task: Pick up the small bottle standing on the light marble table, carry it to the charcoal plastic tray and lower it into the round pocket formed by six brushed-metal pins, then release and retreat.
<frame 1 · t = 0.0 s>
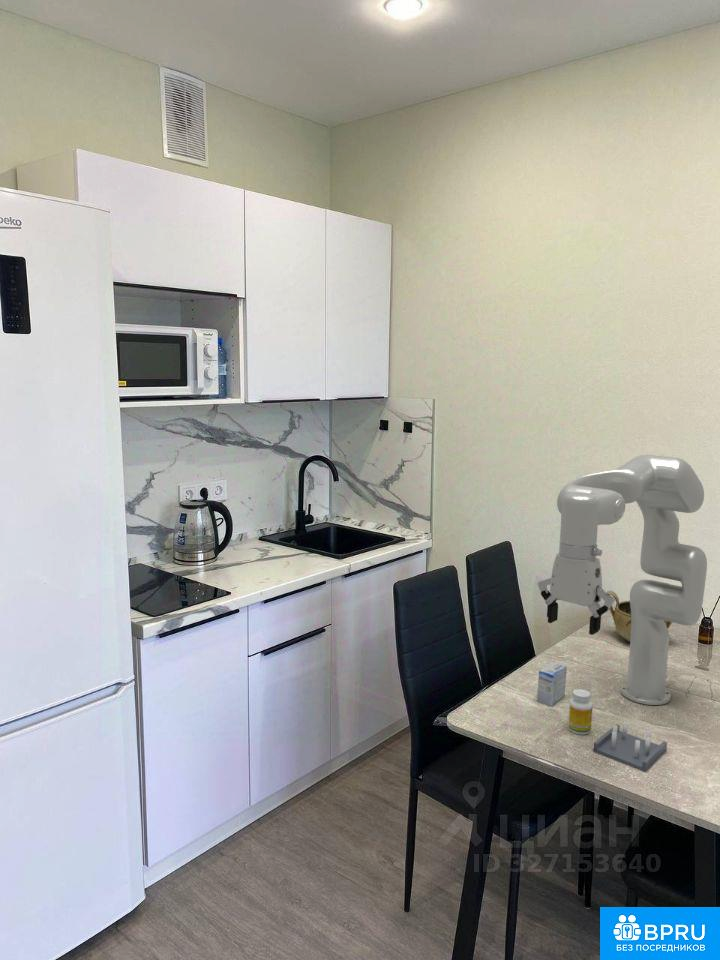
hand: (572, 627, 156), 31 cm above the table, fingers open, 9 cm apart
medicine box: (550, 699, 191), on the table
tray: (629, 751, 165), on the table
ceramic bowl: (638, 641, 232), on the table
supplement bottle: (579, 730, 175), on the table
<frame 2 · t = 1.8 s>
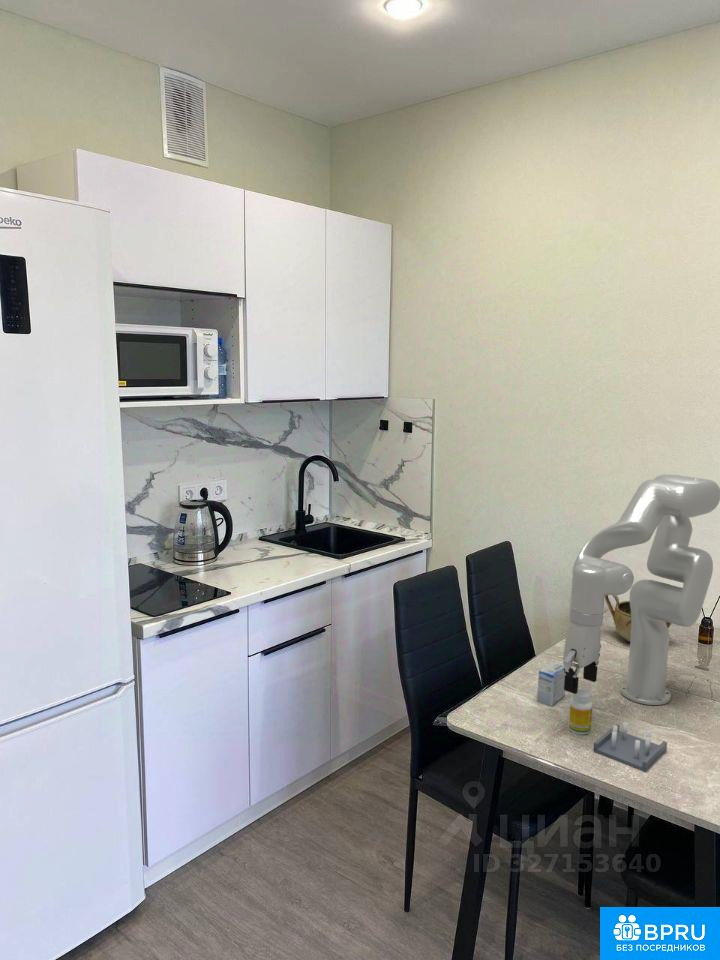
hand: (580, 685, 172), 12 cm above the table, fingers open, 9 cm apart
nothing on the table moved.
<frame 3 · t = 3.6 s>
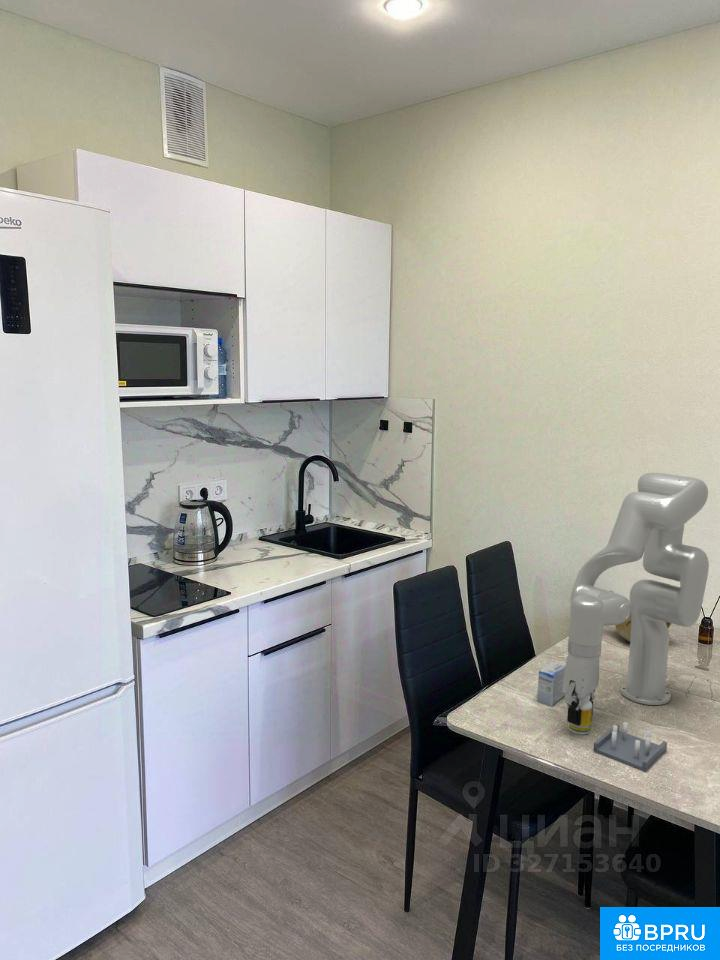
hand: (579, 718, 174), 3 cm above the table, fingers closed on supplement bottle, 5 cm apart
supplement bottle: (579, 730, 175), on the table, touching gripper
everything else where it was.
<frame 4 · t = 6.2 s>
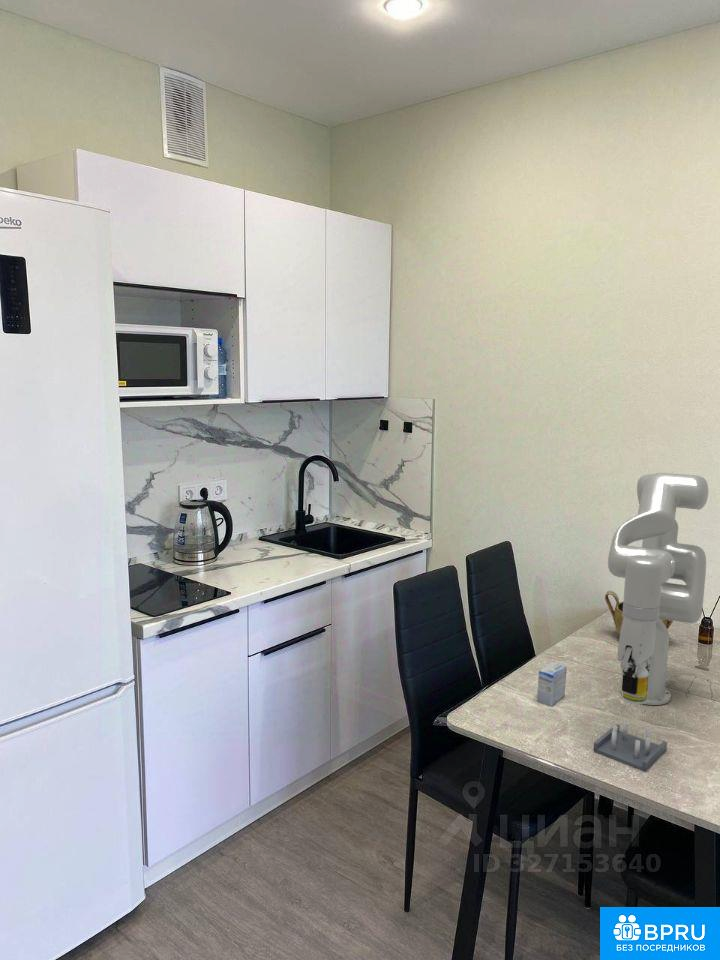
hand: (634, 687, 163), 16 cm above the table, fingers closed on supplement bottle, 5 cm apart
supplement bottle: (633, 700, 163), point 12 cm above the table, touching gripper
everything else where it was.
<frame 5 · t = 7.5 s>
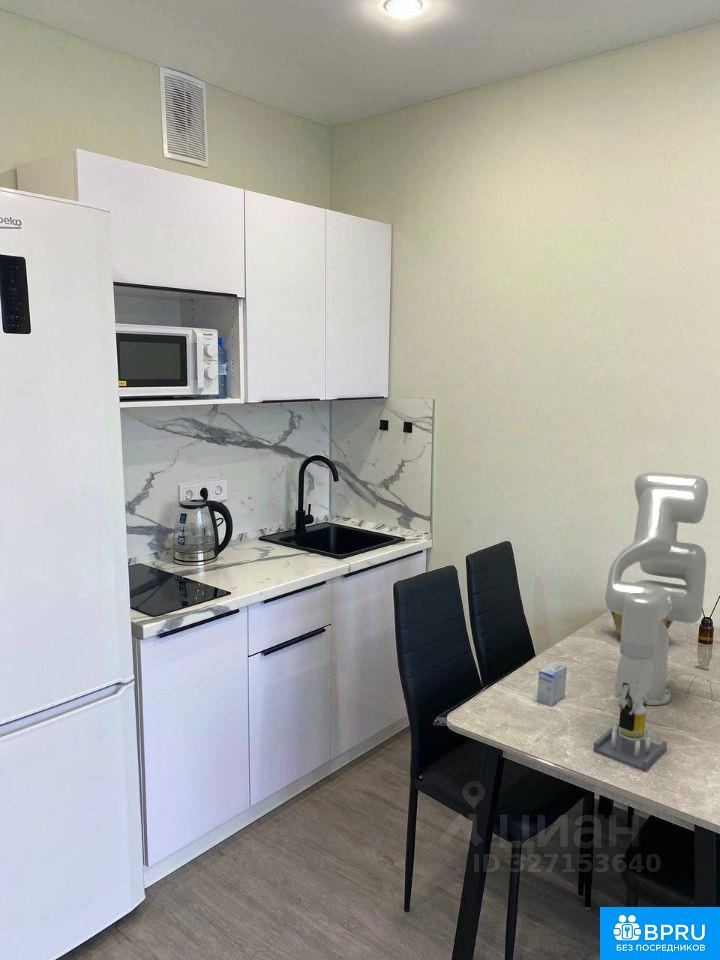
hand: (632, 723, 164), 7 cm above the table, fingers closed on supplement bottle, 5 cm apart
supplement bottle: (630, 736, 164), point 4 cm above the table, touching gripper
everything else where it was.
when the fingers open (5 cm above the table, at t = 8.8 s): supplement bottle drops 1 cm, resting on tray.
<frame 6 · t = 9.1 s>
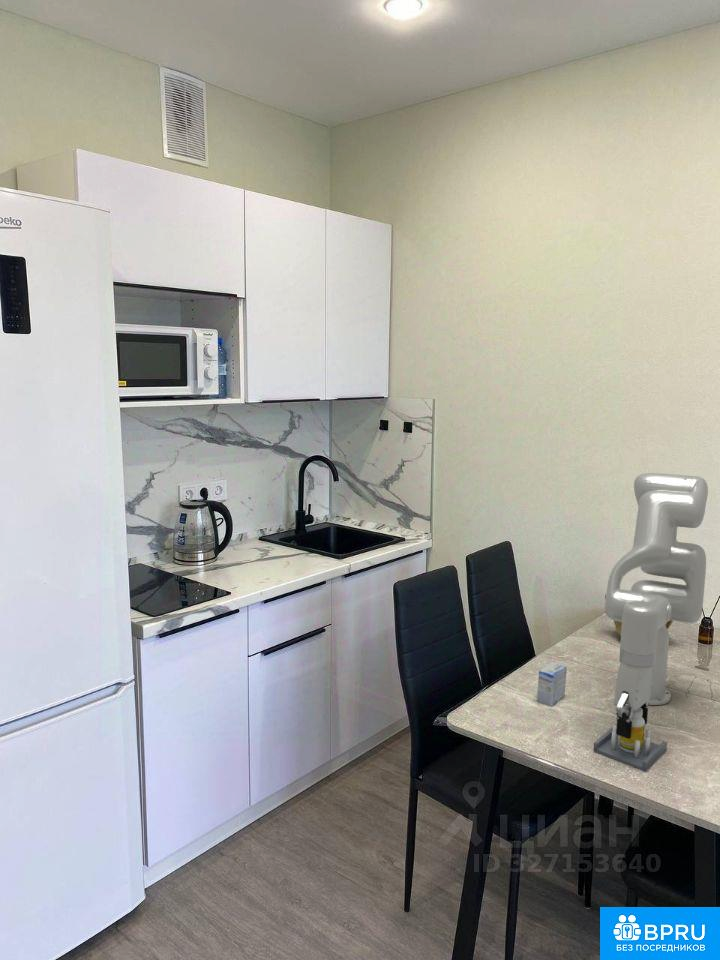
hand: (631, 728, 164), 6 cm above the table, fingers open, 8 cm apart
supplement bottle: (630, 748, 165), point 1 cm above the table, touching tray
everything else where it was.
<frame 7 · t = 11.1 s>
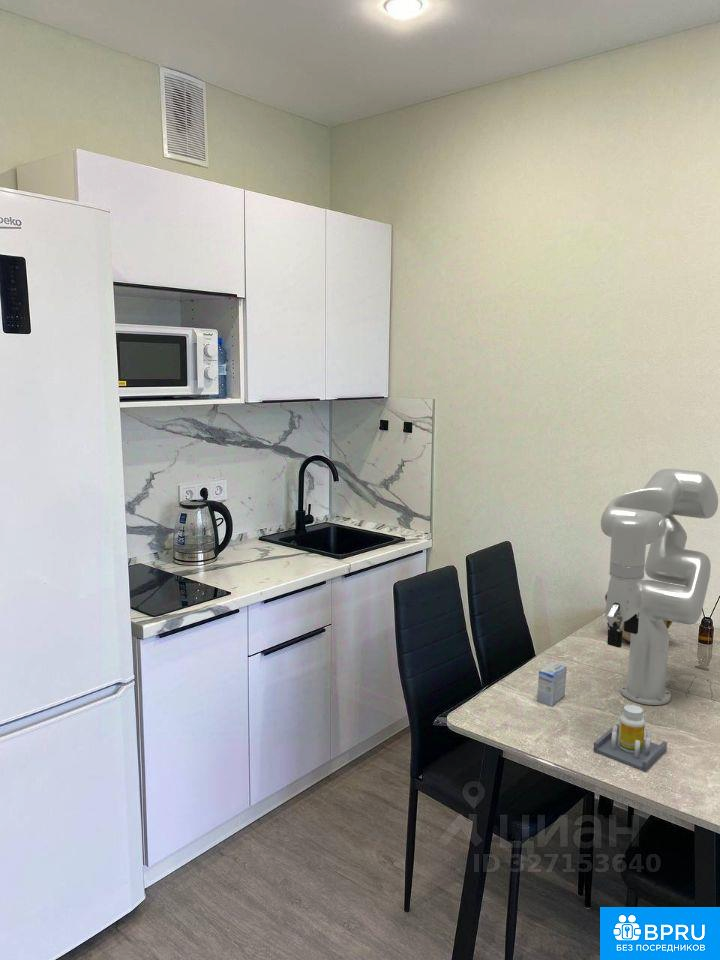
hand: (622, 639, 169), 24 cm above the table, fingers open, 9 cm apart
nothing on the table moved.
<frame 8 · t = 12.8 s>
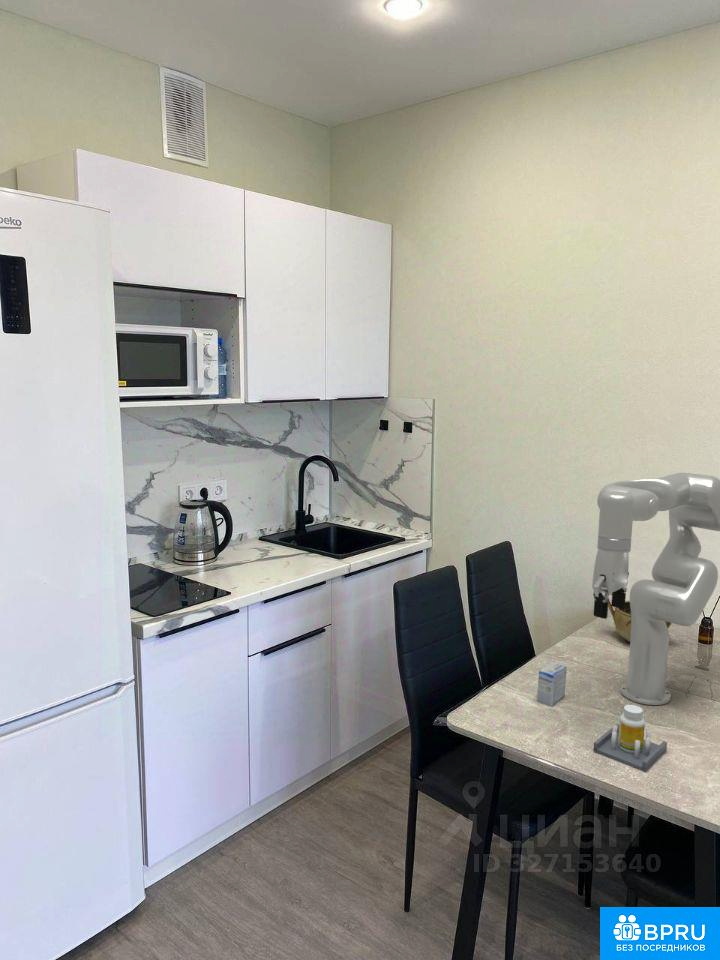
hand: (609, 612, 174), 28 cm above the table, fingers open, 9 cm apart
nothing on the table moved.
at the end: supplement bottle 0.2 cm off-centre on the tray, point 0.6 cm above the tray's base; supplement bottle tilted 0°; the gripper is holding nothing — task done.
